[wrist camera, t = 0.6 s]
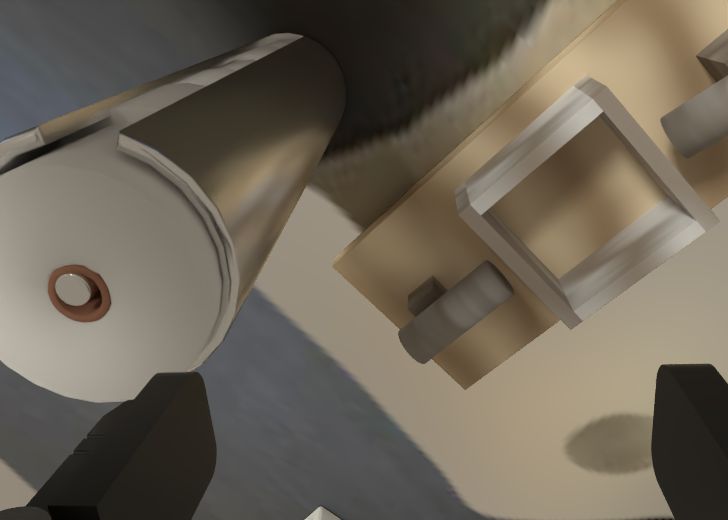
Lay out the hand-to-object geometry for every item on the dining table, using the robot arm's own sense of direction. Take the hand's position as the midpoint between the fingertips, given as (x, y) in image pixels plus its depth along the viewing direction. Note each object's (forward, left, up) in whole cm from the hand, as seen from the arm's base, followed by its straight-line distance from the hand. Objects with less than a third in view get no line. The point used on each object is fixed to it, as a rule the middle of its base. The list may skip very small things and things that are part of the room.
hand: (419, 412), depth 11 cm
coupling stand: (+6, +7, -27) cm, 29 cm away
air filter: (-3, -7, -27) cm, 28 cm away
